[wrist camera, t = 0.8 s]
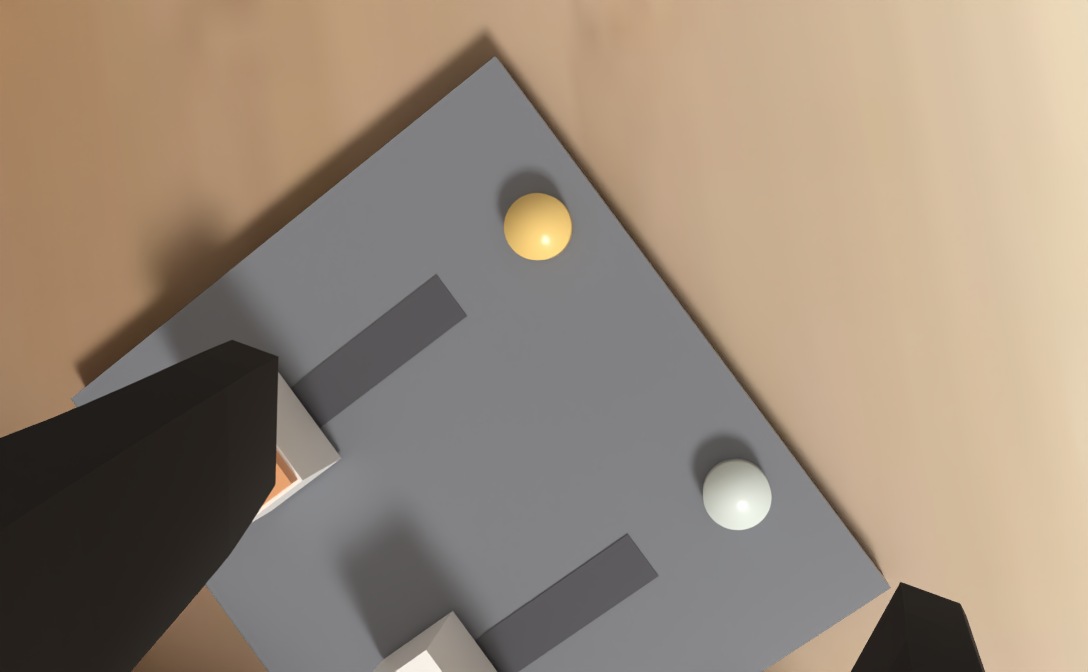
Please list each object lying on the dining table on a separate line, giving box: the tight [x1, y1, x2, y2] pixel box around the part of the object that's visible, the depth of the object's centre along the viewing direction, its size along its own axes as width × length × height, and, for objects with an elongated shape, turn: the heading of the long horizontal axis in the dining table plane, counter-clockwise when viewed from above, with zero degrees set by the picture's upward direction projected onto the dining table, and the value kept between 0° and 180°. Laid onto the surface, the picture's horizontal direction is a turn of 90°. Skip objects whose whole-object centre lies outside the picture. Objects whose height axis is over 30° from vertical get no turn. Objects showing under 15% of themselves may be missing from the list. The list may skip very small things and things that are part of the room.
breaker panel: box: [71, 56, 890, 672], centre depth 33 cm, size 18×20×2 cm
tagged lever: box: [252, 372, 341, 522], centre depth 31 cm, size 3×4×4 cm
